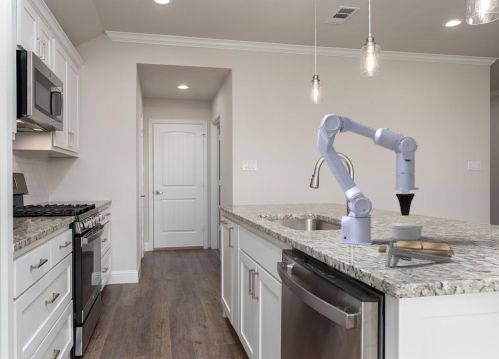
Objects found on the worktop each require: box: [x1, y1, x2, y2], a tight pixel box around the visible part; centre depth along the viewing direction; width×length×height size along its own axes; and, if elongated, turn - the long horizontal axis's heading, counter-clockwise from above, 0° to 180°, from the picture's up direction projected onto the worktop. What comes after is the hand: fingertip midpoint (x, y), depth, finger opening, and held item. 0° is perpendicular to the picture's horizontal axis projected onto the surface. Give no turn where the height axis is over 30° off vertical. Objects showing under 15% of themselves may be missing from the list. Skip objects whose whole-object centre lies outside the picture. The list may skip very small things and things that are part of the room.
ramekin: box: [388, 222, 423, 241], centre depth 136 cm, size 11×11×5 cm
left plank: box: [396, 240, 423, 249], centre depth 117 cm, size 7×11×1 cm, turn 158°
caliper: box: [384, 242, 455, 268], centre depth 96 cm, size 20×1×6 cm, turn 108°
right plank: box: [421, 241, 452, 255], centre depth 114 cm, size 7×11×1 cm, turn 158°
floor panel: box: [378, 245, 450, 258], centre depth 109 cm, size 18×4×1 cm, turn 68°
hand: (405, 215), depth 125 cm, fingers closed
